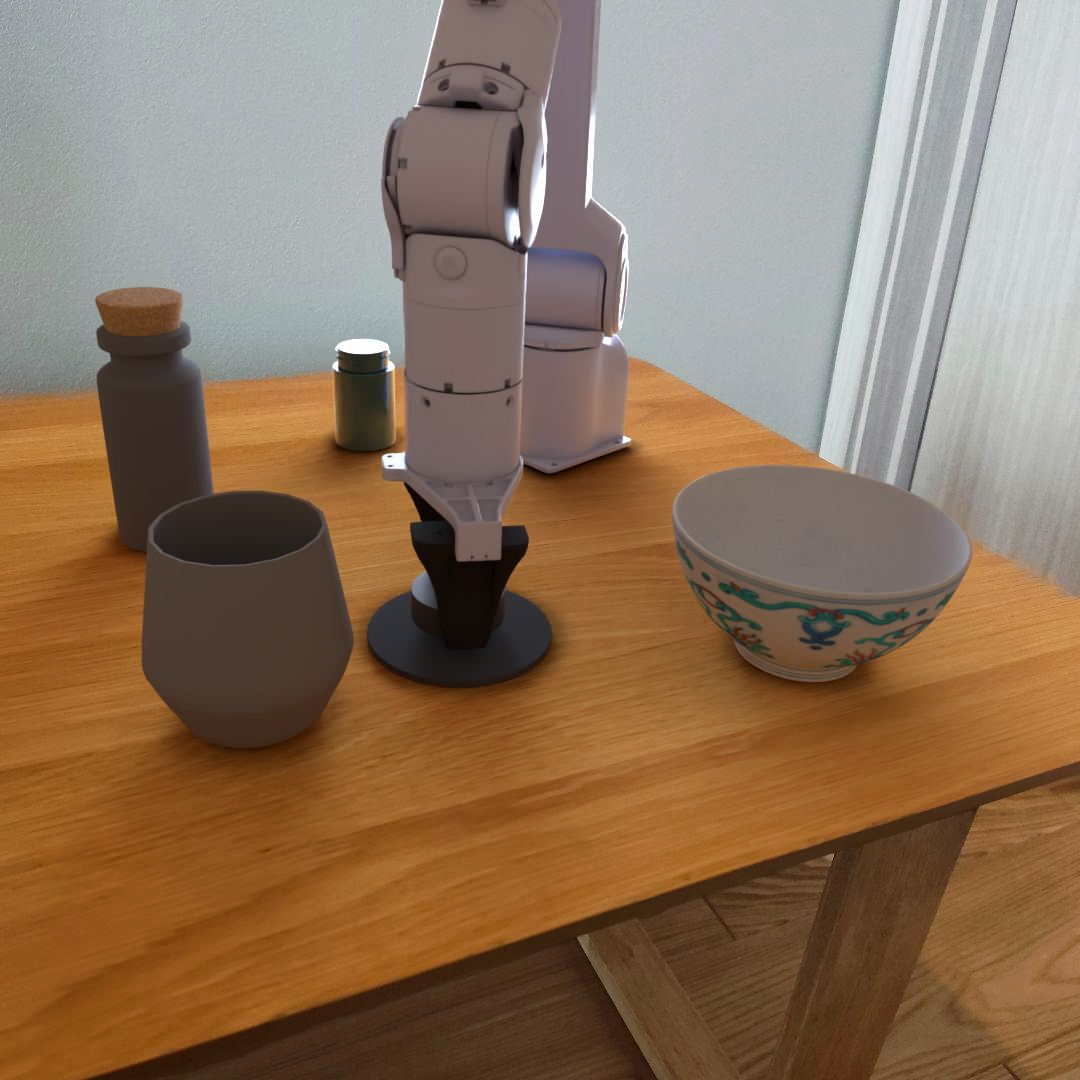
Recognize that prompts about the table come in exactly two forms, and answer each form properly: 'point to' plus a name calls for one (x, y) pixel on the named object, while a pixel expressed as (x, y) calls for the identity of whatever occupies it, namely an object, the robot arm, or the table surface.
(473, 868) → the table surface
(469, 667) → the coaster
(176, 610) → the cup
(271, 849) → the table surface
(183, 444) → the bottle
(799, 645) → the chinaware
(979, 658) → the table surface
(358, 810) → the table surface
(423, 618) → the cap
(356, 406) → the spice jar
